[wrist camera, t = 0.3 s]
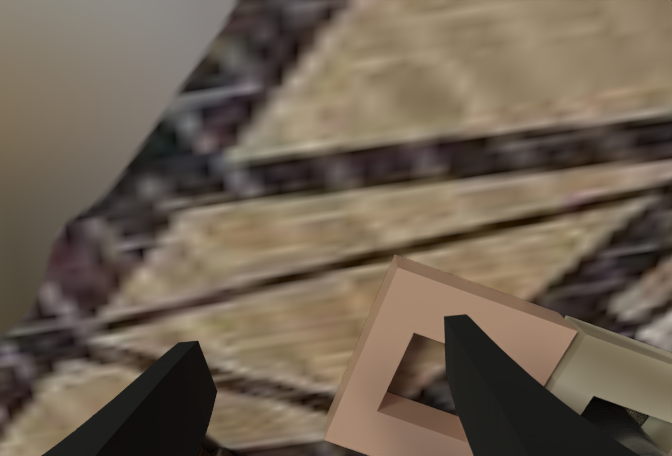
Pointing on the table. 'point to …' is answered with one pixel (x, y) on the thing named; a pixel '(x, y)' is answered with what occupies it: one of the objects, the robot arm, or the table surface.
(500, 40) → the table surface
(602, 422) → the pin
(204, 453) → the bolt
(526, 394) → the robot arm
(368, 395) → the socket block
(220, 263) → the table surface
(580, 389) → the pin mount
